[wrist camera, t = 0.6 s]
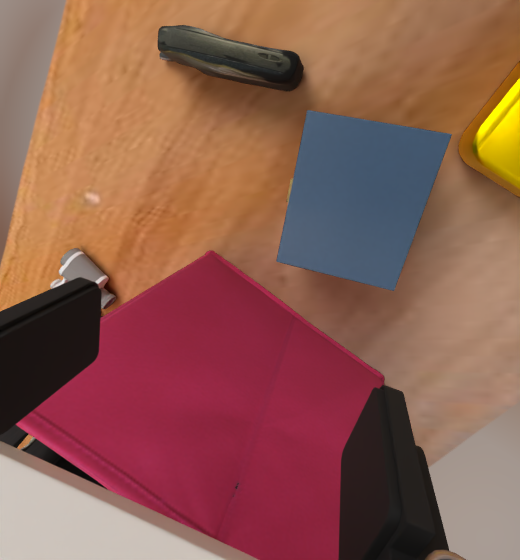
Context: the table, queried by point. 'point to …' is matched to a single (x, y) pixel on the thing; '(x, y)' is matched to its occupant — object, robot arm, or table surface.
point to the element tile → (497, 136)
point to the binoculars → (83, 273)
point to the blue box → (358, 196)
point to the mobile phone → (230, 58)
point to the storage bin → (213, 413)
